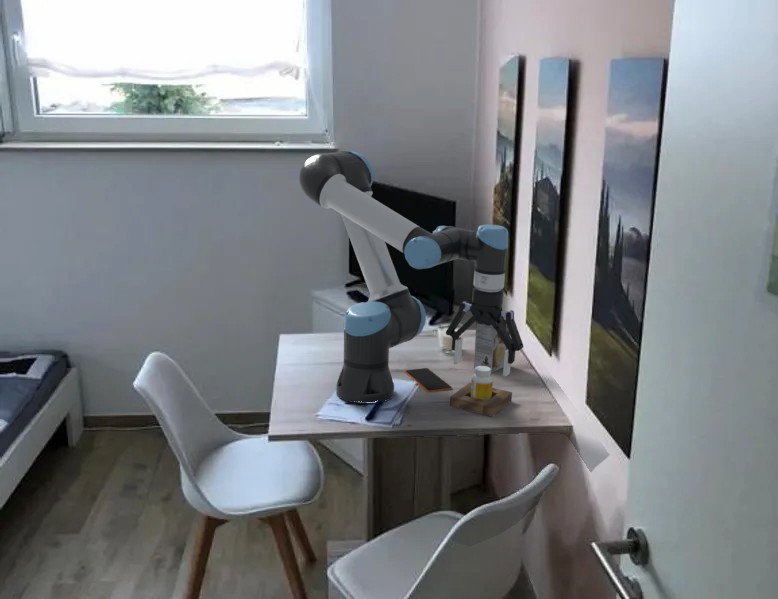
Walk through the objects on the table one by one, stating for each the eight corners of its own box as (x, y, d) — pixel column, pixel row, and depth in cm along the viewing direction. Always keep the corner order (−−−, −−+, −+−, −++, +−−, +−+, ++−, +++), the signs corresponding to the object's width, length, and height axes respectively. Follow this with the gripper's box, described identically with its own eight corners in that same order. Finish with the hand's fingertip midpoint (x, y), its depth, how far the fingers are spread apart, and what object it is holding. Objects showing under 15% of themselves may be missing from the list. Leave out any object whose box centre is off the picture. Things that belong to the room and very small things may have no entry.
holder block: (449, 405, 215) (449, 396, 214) (469, 391, 225) (469, 382, 224) (492, 416, 209) (493, 407, 208) (511, 401, 219) (512, 392, 218)
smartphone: (427, 370, 241) (427, 367, 240) (453, 390, 226) (453, 387, 226) (402, 372, 238) (403, 369, 237) (427, 394, 223) (428, 391, 223)
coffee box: (489, 360, 249) (492, 308, 245) (508, 365, 245) (512, 312, 241) (472, 368, 242) (476, 314, 238) (492, 373, 238) (495, 319, 234)
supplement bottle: (465, 402, 217) (467, 367, 214) (480, 398, 220) (482, 363, 218) (480, 409, 213) (483, 373, 210) (495, 404, 216) (497, 369, 214)
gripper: (436, 282, 211) (431, 362, 217) (530, 300, 199) (521, 384, 205) (449, 276, 218) (444, 354, 223) (541, 293, 206) (533, 375, 212)
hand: (481, 368), depth 214 cm, fingers open, 13 cm apart
